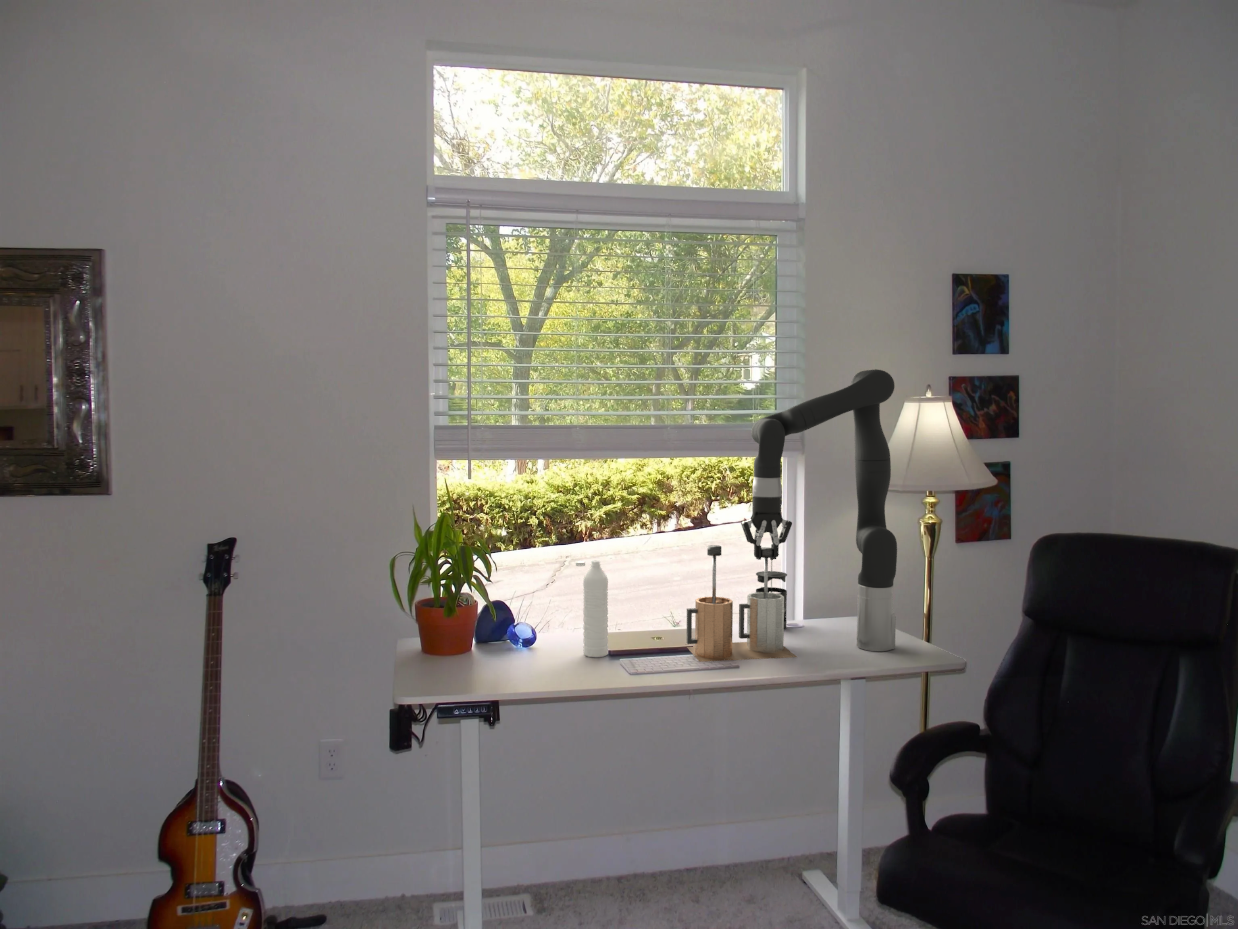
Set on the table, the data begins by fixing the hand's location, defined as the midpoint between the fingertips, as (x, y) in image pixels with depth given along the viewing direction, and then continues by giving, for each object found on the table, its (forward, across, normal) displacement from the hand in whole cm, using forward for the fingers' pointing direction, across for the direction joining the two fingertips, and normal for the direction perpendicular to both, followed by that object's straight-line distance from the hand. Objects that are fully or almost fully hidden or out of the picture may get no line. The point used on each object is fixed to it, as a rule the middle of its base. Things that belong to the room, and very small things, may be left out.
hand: (766, 558), depth 231 cm
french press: (+25, -9, -22) cm, 35 cm away
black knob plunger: (+12, +15, +3) cm, 19 cm away
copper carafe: (+24, +16, +3) cm, 29 cm away
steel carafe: (+24, +1, 0) cm, 24 cm away
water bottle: (+26, +46, -5) cm, 53 cm away
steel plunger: (+13, 0, 0) cm, 13 cm away
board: (+25, +7, +2) cm, 26 cm away
